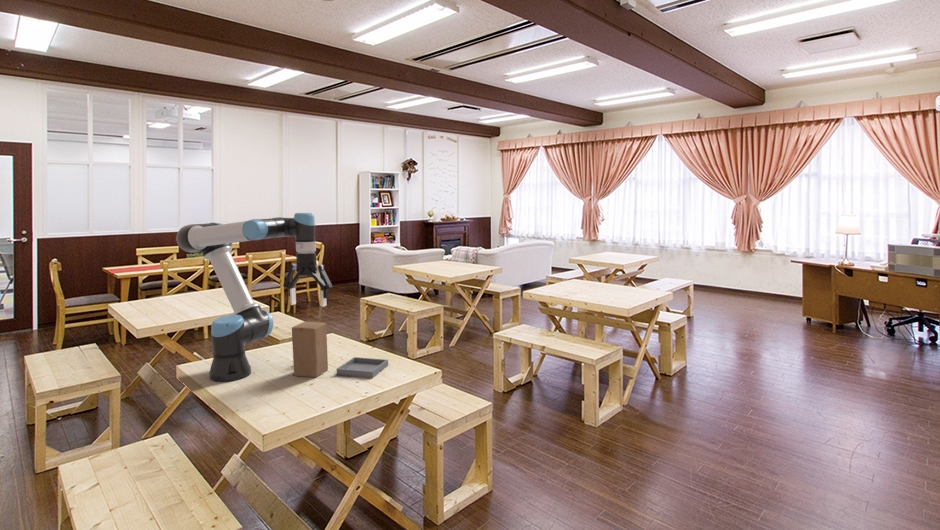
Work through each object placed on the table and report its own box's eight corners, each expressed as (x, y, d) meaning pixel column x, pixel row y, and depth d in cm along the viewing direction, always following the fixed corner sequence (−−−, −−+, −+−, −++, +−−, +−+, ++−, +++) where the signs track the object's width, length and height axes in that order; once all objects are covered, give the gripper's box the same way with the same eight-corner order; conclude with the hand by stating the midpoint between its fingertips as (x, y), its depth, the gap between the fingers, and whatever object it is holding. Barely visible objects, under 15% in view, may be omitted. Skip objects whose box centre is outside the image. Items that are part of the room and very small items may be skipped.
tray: (336, 374, 207) (336, 368, 206) (354, 362, 222) (354, 357, 221) (372, 378, 203) (372, 371, 203) (388, 365, 218) (388, 359, 218)
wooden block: (316, 378, 203) (314, 328, 201) (293, 376, 205) (291, 327, 203) (328, 369, 213) (326, 322, 210) (306, 368, 215) (304, 321, 212)
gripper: (272, 252, 202) (275, 305, 205) (330, 254, 196) (332, 308, 199) (283, 250, 209) (286, 302, 212) (339, 252, 203) (341, 304, 206)
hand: (308, 305), depth 205 cm, fingers open, 13 cm apart
